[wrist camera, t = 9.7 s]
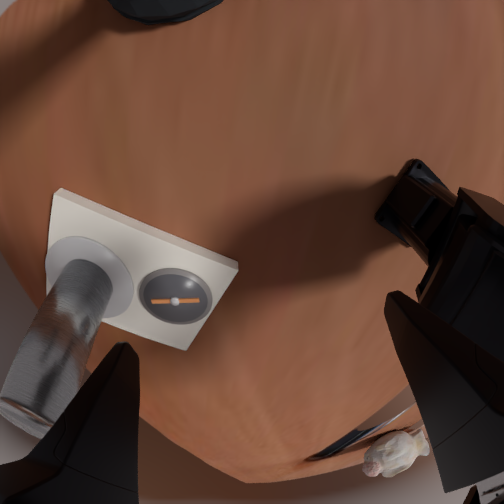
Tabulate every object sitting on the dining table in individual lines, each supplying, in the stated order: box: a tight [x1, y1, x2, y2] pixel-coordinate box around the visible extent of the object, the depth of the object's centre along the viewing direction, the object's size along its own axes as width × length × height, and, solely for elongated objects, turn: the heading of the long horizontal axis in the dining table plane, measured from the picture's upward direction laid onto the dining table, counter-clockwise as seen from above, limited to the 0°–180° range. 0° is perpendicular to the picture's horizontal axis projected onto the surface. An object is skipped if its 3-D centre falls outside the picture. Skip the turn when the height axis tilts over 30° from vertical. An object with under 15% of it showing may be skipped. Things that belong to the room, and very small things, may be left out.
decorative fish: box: [362, 428, 429, 477], centre depth 59 cm, size 16×19×15 cm
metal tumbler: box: [0, 259, 113, 439], centre depth 16 cm, size 5×5×14 cm
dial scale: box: [45, 188, 239, 351], centre depth 23 cm, size 16×12×2 cm
